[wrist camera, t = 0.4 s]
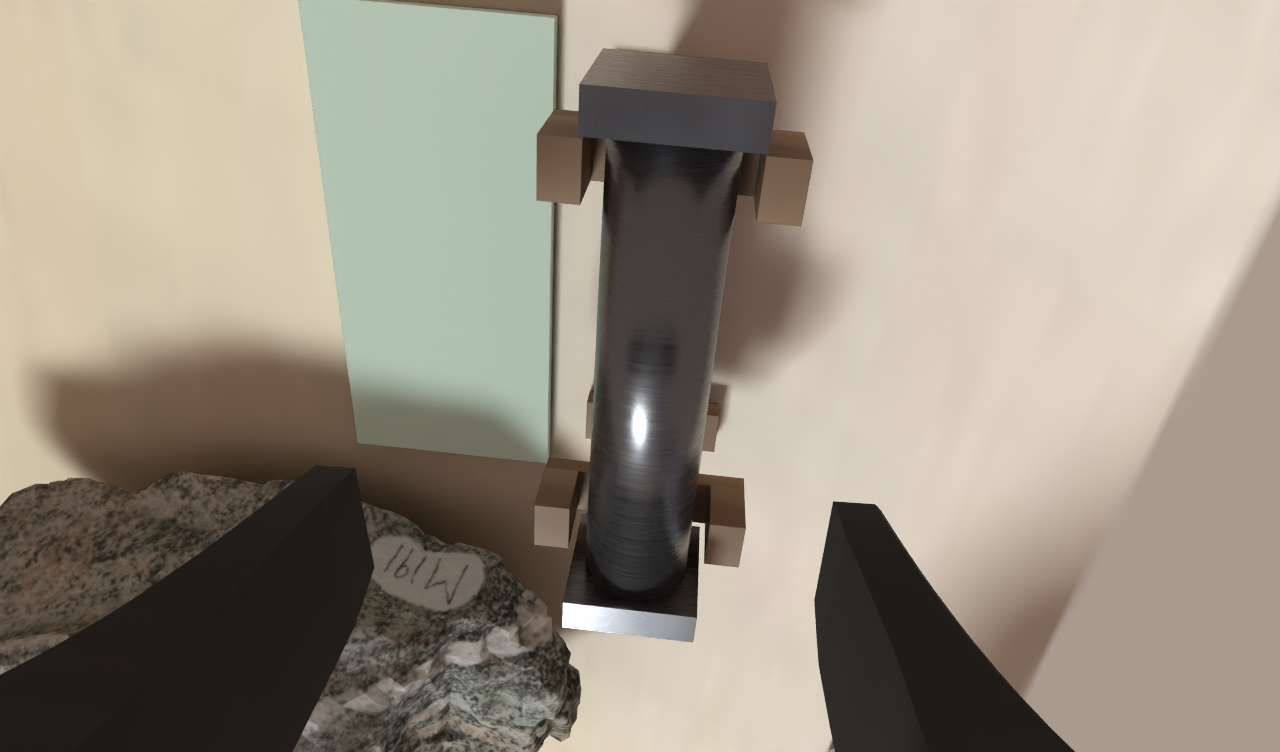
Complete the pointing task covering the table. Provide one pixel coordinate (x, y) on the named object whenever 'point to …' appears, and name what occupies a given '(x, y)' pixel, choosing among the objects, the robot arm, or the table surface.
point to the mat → (438, 218)
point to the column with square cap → (657, 323)
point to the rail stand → (718, 498)
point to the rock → (377, 648)
